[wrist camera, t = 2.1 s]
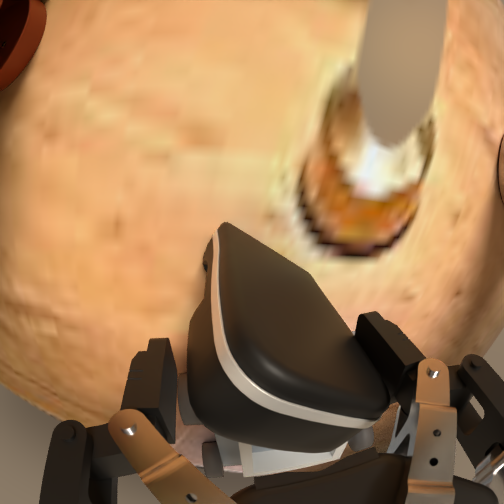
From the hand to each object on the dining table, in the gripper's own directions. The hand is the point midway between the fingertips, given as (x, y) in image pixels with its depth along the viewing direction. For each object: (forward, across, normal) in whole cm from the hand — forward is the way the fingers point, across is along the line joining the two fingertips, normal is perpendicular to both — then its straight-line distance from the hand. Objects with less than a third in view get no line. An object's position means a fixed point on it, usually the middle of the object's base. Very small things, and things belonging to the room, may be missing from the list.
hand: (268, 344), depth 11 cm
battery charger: (+7, 0, 0) cm, 7 cm away
